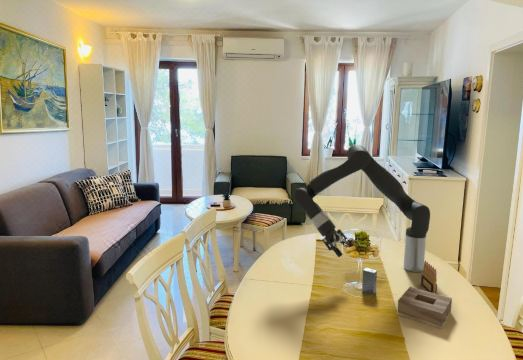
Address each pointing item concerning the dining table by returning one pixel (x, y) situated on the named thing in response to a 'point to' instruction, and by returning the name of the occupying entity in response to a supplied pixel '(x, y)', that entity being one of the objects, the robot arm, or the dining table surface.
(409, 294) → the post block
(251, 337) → the dining table surface
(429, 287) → the ammunition clip
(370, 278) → the gray rectangular block
